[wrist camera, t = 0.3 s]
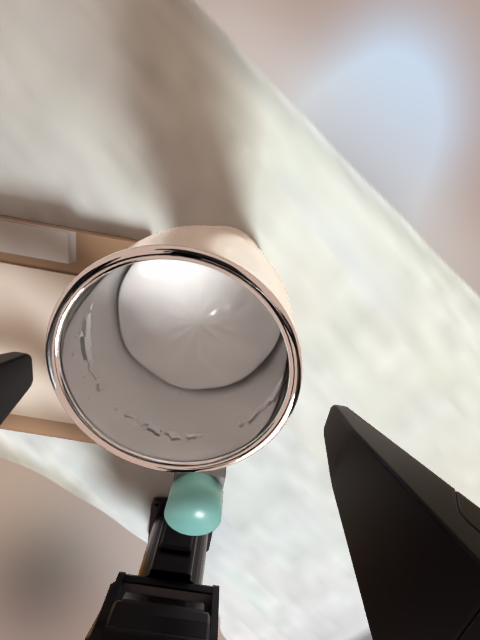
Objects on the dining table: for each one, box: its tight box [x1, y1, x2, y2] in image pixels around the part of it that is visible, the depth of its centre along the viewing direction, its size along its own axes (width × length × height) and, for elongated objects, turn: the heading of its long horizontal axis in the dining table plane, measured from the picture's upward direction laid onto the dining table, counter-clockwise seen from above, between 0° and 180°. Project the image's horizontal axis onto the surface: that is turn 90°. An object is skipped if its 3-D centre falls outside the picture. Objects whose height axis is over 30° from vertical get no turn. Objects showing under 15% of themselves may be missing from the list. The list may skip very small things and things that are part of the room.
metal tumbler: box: [45, 225, 303, 473], centre depth 15 cm, size 7×7×15 cm
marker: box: [164, 467, 226, 536], centre depth 22 cm, size 3×3×9 cm
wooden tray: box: [0, 215, 139, 444], centre depth 23 cm, size 18×16×2 cm
